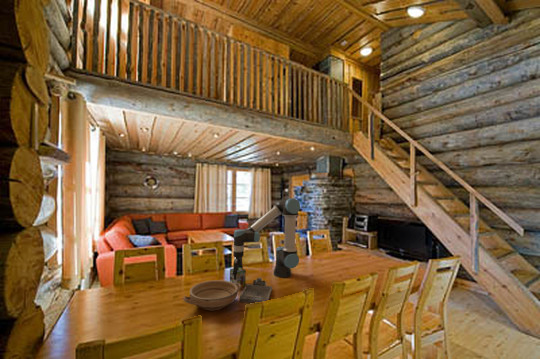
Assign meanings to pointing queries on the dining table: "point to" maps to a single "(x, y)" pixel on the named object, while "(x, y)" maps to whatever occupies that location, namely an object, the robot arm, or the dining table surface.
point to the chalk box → (239, 276)
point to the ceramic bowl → (213, 294)
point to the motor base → (256, 292)
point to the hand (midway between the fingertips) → (237, 280)
